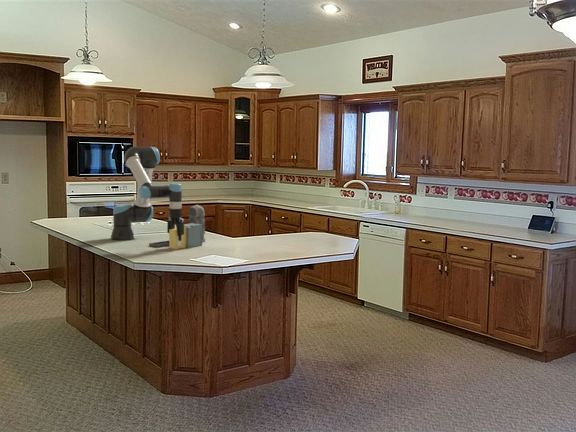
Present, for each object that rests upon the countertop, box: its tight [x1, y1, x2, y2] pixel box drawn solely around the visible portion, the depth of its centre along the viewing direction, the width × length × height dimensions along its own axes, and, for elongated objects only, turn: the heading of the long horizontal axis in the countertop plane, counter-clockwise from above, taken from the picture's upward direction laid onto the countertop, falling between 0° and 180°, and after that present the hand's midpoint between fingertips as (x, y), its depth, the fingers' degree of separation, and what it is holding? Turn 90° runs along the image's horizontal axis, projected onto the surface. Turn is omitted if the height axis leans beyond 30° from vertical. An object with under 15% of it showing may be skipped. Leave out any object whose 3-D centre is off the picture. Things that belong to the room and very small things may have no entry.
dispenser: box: [184, 223, 203, 249], centre depth 389 cm, size 9×12×14 cm
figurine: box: [187, 204, 206, 243], centre depth 408 cm, size 10×14×25 cm
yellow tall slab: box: [168, 228, 187, 250], centre depth 382 cm, size 5×14×12 cm, turn 143°
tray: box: [148, 240, 169, 249], centre depth 389 cm, size 9×18×2 cm, turn 143°
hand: (175, 245), depth 379 cm, fingers closed on yellow tall slab, 5 cm apart
